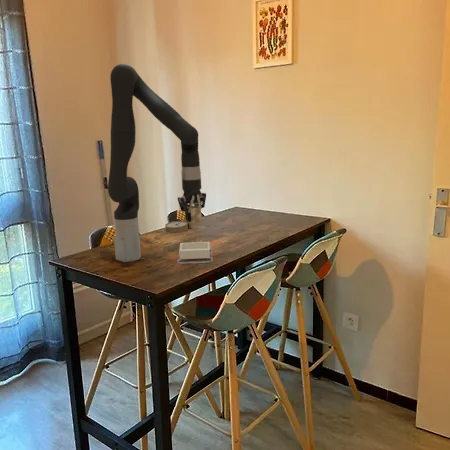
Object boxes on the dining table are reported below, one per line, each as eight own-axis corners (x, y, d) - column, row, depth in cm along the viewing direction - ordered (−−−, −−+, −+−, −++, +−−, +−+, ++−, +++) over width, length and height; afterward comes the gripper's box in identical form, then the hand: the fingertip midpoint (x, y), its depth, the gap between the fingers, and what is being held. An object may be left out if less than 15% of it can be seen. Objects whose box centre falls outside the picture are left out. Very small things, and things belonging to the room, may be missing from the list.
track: (180, 246, 207) (180, 245, 207) (211, 244, 208) (211, 243, 208) (177, 263, 183) (177, 262, 183) (212, 262, 183) (212, 261, 183)
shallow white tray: (179, 251, 196) (179, 243, 196) (211, 250, 197) (210, 241, 196) (178, 260, 185) (177, 251, 184) (211, 258, 185) (211, 249, 184)
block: (193, 223, 185) (192, 208, 183) (185, 222, 188) (184, 207, 186) (201, 221, 188) (200, 206, 186) (193, 220, 191) (193, 205, 189)
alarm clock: (160, 226, 233) (177, 215, 245) (161, 235, 235) (179, 224, 247) (178, 228, 228) (195, 217, 239) (180, 237, 229) (196, 226, 241)
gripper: (184, 180, 176) (186, 225, 180) (210, 176, 186) (212, 218, 190) (171, 179, 181) (173, 222, 185) (197, 175, 191) (199, 216, 195)
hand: (193, 220), depth 188 cm, fingers closed on block, 4 cm apart
